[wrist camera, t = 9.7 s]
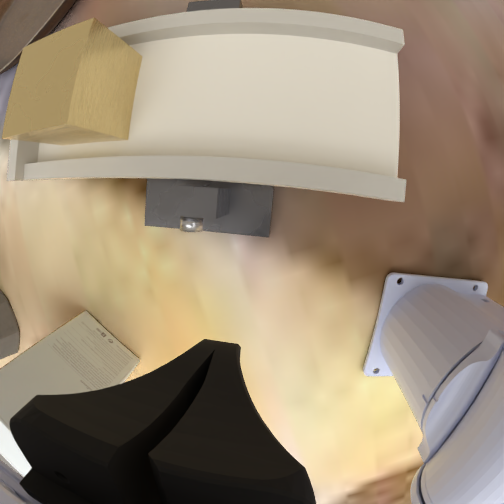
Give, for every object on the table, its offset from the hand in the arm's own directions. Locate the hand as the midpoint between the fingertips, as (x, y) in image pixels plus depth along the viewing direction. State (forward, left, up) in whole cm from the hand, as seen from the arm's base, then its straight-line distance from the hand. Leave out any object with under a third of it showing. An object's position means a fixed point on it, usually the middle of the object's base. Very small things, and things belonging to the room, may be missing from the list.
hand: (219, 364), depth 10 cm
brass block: (+9, -11, -5) cm, 15 cm away
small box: (+13, +9, -10) cm, 18 cm away
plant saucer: (+27, -28, -10) cm, 40 cm away
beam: (+3, -11, -6) cm, 13 cm away
